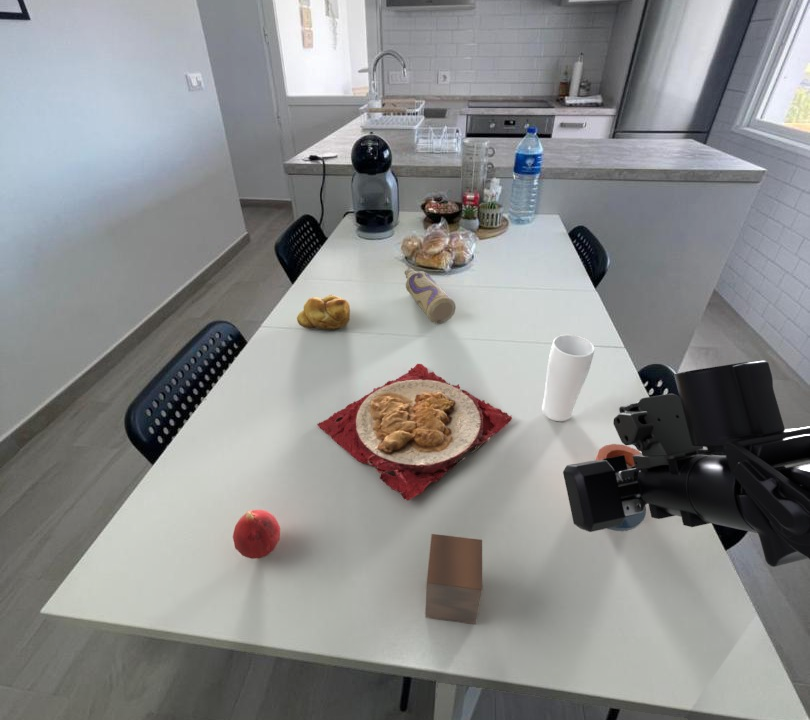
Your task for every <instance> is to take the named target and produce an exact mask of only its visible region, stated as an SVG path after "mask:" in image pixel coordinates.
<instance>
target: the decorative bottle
mask: <svg viewBox="0 0 810 720" xmlns="http://www.w3.org/2000/svg"><path fill="white" fill-rule="evenodd" d="M404 275H405V278H406V281H405V289H406V291H407V292H408V294H409V295H410V296H411V297H412V298H413V299H414V301H415V302H416V303H417V304H418V306H419V307H420V309H421V310H422V311H423V312H424V314H425V315H426V316H427V318H428V320H429V321H430V322H431V323H434V324H442V323H446V322H448V321H449V320H450V319H451V318H452V317H453V316H454V315H455V312H456V309H457V306H456V303H455V301H454V299H453V298H452V297H450V296H449V295H448V294H447V292H445V290H444V289H443V288H441V286H440V285H439V284H438V283H437V282H436V281H435V280H434V279H433V277H432V276H431V275H430V274H429V273H427V272H426V271H420V270H419V271H415V269H413V268H411V267H409V268H406V270H405V271H404Z"/></svg>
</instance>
